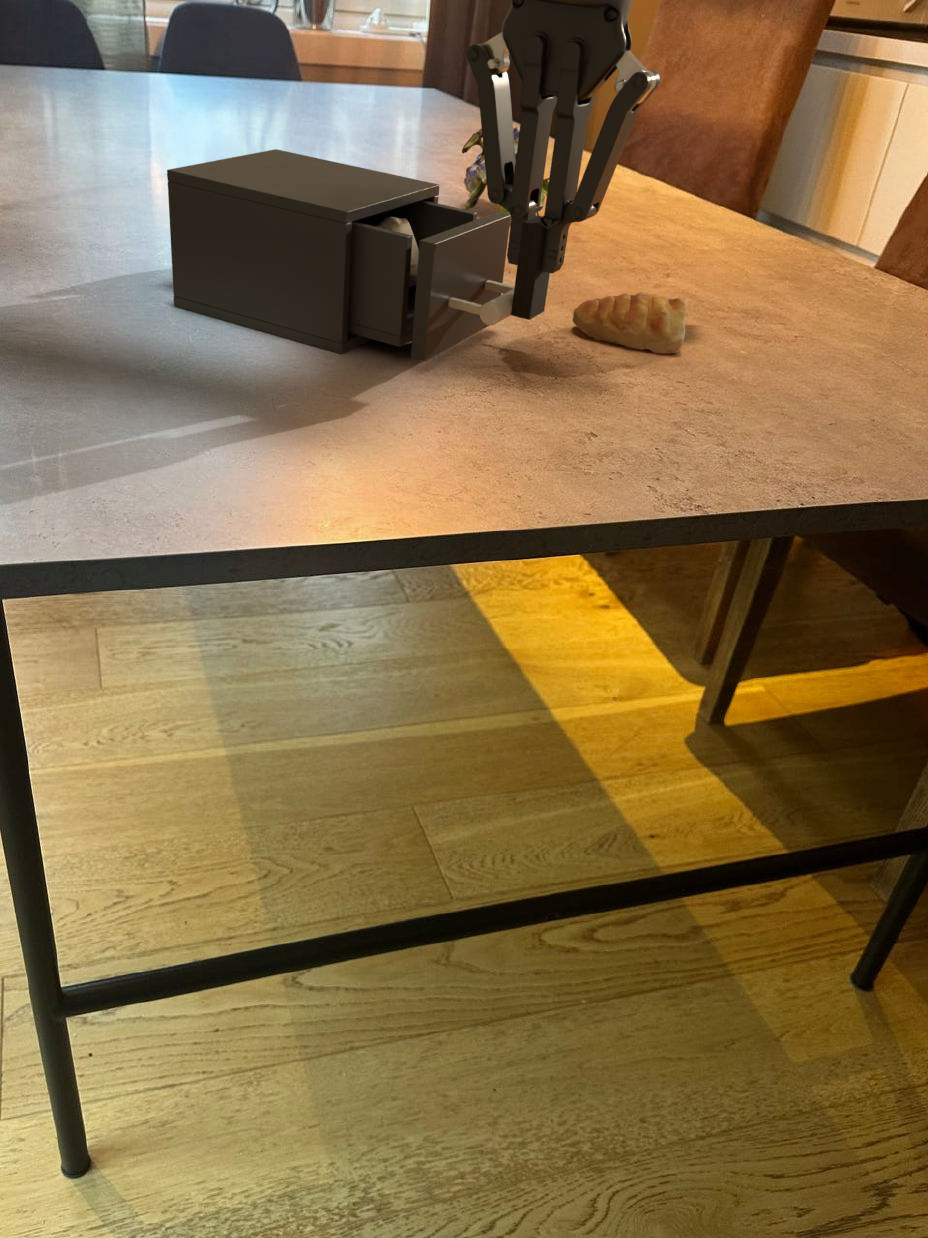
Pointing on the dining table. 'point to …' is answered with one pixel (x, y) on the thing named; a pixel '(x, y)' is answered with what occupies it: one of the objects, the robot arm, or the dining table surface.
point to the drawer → (428, 277)
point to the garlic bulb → (405, 228)
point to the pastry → (635, 321)
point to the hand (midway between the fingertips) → (527, 312)
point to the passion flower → (477, 172)
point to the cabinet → (276, 240)
